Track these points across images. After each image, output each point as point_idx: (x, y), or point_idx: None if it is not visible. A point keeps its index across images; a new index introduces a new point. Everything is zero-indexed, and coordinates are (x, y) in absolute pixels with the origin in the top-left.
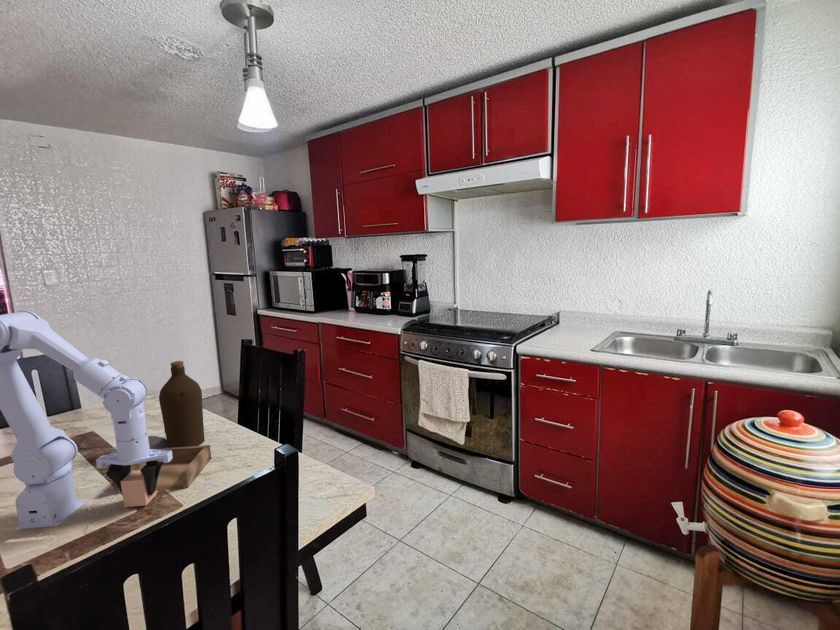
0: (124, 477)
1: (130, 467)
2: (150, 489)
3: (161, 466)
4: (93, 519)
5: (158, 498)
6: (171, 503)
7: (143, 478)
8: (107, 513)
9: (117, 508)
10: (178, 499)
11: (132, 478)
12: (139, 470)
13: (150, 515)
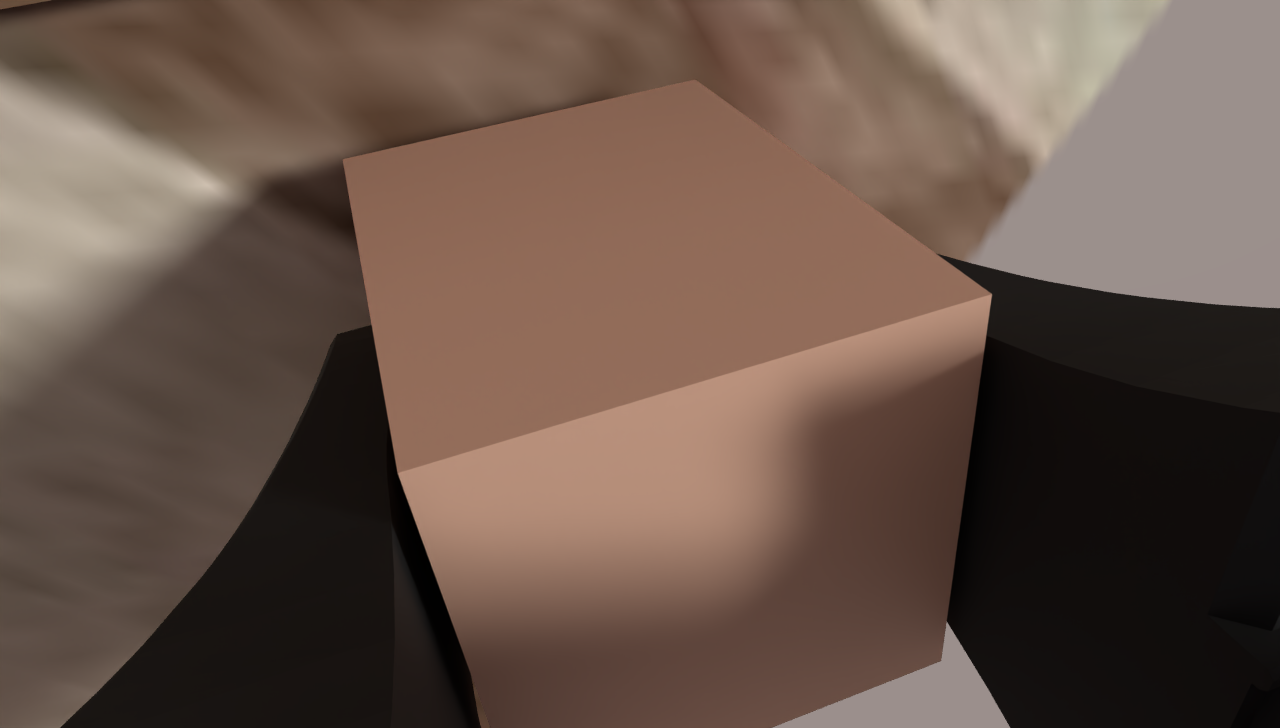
0: (467, 723)
1: (398, 619)
2: None
3: (1256, 318)
4: (126, 589)
5: (687, 73)
6: (921, 174)
7: (933, 634)
8: (193, 473)
9: (228, 366)
10: (975, 80)
11: (708, 698)
12: (616, 417)
13: None
